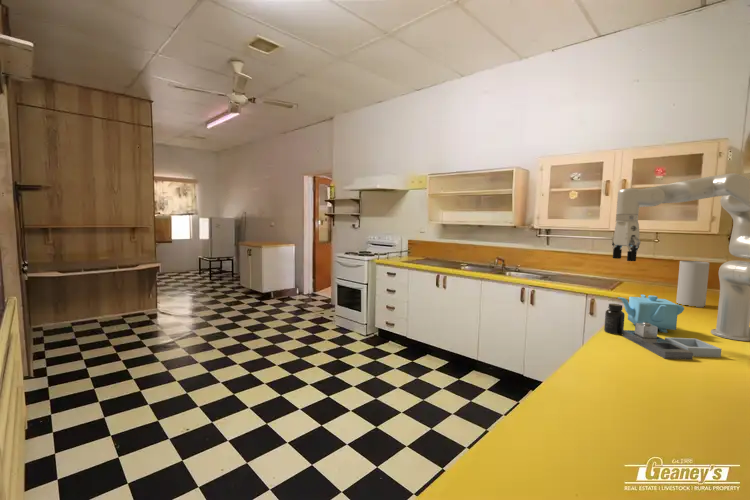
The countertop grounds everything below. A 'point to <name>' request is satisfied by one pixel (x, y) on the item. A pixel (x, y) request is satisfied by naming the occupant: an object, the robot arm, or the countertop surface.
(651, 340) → the rail
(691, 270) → the cylinder vase
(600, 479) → the countertop surface
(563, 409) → the countertop surface
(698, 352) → the parts tray
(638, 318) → the teakettle
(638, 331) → the beige block with knob
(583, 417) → the countertop surface
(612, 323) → the supplement bottle
